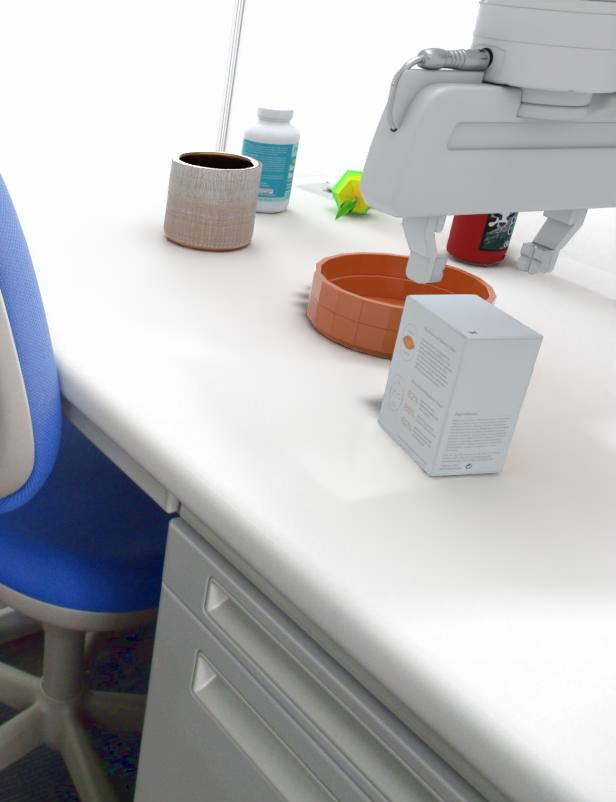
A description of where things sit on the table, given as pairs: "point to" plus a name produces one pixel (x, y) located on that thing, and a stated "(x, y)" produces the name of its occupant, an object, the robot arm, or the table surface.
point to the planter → (212, 200)
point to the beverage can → (481, 237)
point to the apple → (349, 194)
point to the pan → (375, 297)
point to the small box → (457, 383)
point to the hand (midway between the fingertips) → (479, 275)
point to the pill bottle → (273, 155)
